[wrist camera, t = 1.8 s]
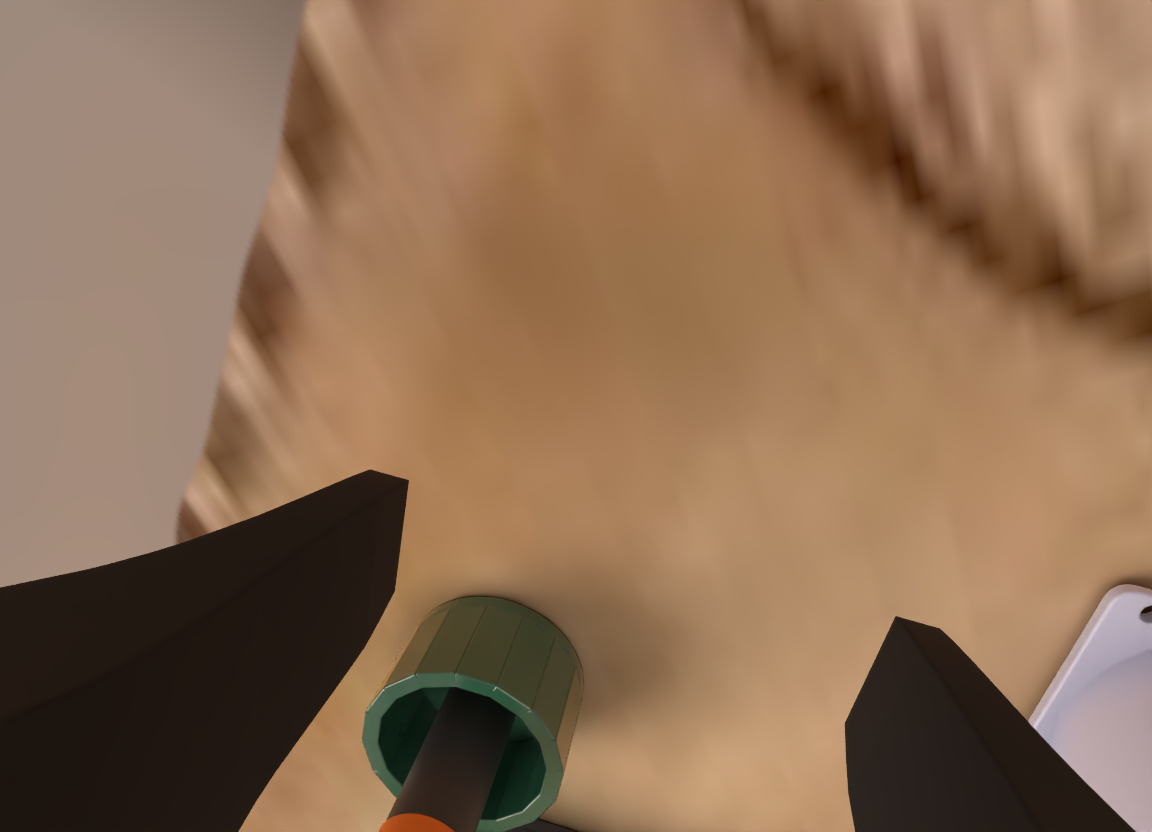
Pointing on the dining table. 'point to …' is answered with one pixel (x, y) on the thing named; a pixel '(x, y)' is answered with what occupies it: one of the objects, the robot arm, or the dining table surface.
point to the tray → (540, 827)
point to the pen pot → (494, 669)
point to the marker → (453, 766)
